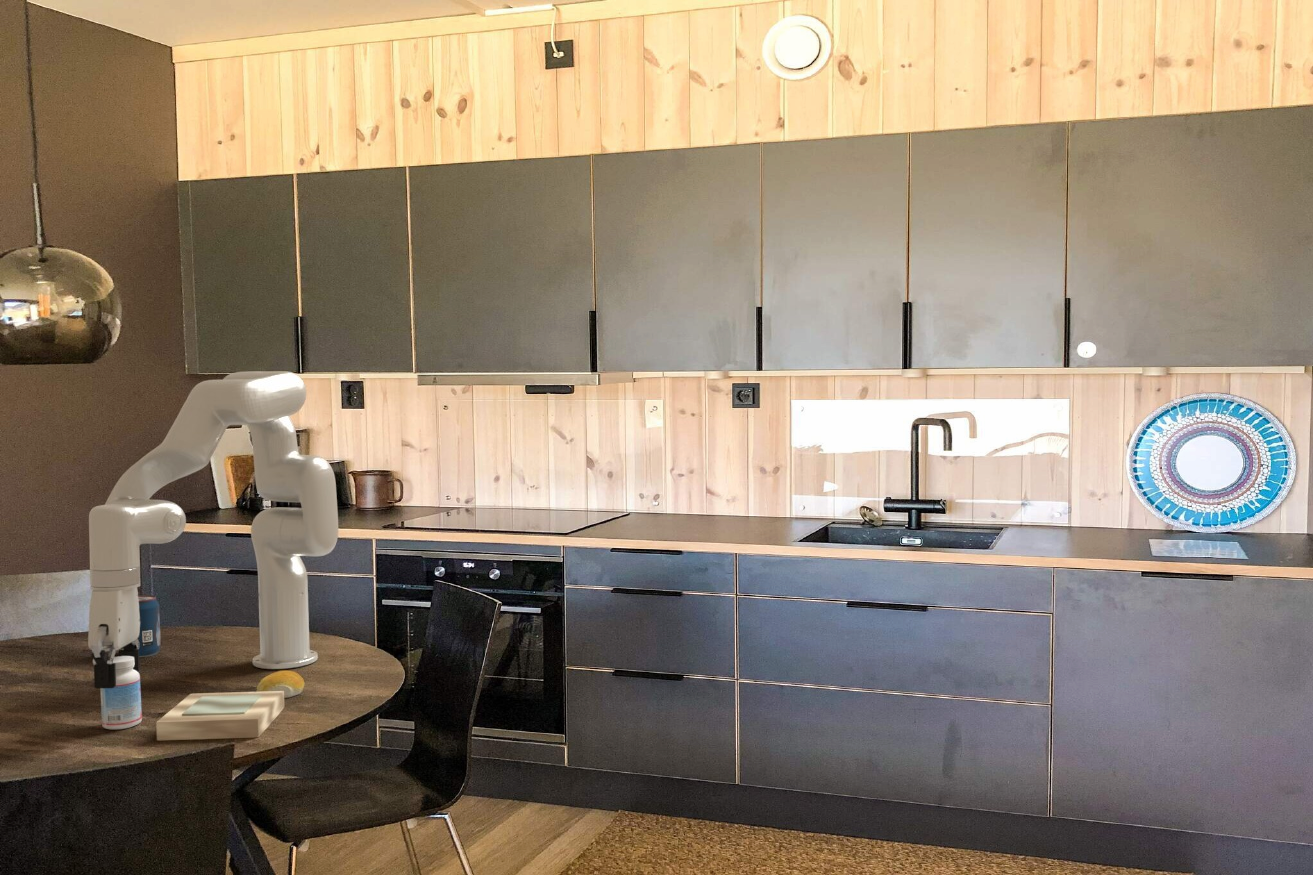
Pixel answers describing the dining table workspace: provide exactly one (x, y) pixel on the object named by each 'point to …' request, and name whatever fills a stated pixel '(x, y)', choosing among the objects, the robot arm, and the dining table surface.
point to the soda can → (149, 626)
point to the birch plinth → (221, 715)
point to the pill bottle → (122, 697)
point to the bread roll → (282, 683)
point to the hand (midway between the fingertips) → (117, 680)
